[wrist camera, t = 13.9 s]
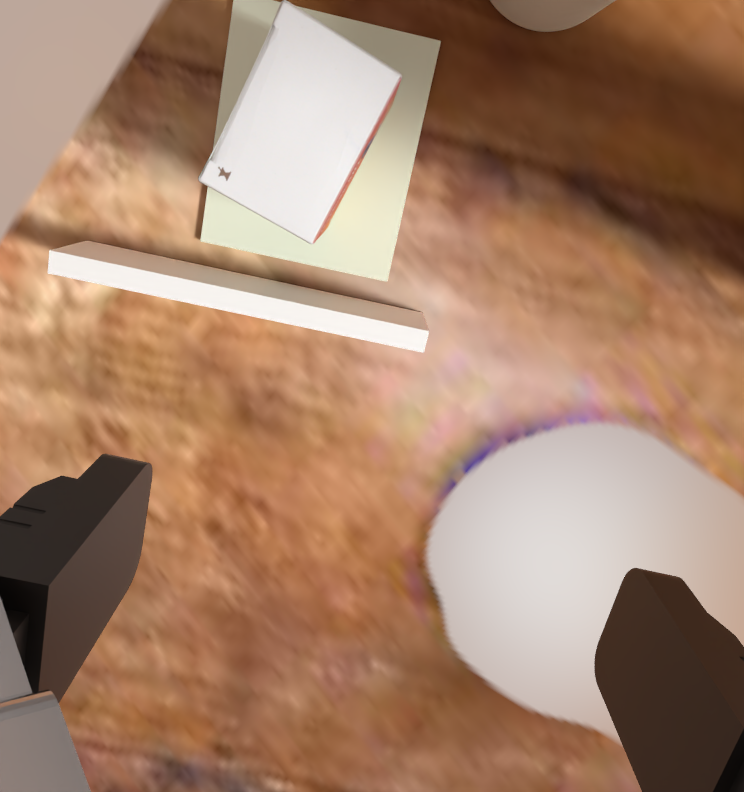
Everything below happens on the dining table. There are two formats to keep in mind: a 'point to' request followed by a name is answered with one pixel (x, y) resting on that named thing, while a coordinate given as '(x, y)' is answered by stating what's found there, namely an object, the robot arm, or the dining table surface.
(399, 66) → the sage mat
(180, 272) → the white wall
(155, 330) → the dining table surface
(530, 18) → the travel mug
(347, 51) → the small box
